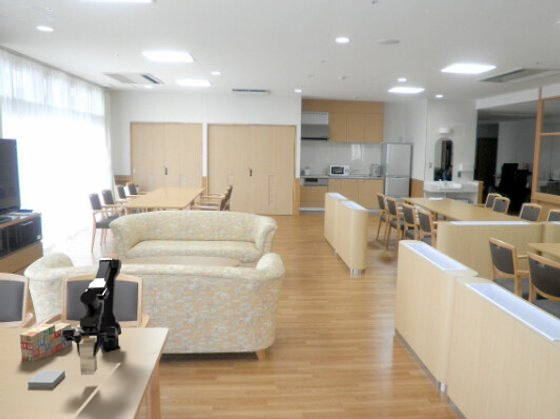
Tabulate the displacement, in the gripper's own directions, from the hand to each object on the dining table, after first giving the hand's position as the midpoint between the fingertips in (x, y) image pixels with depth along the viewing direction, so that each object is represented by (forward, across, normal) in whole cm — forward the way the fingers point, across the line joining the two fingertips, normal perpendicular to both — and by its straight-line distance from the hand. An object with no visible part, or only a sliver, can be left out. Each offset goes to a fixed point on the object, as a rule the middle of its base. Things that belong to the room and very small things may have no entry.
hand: (87, 356), depth 170 cm
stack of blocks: (-14, -25, +32) cm, 43 cm away
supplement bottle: (-18, -12, +36) cm, 42 cm away
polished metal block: (+4, 0, +6) cm, 7 cm away
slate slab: (+4, -16, +11) cm, 20 cm away
